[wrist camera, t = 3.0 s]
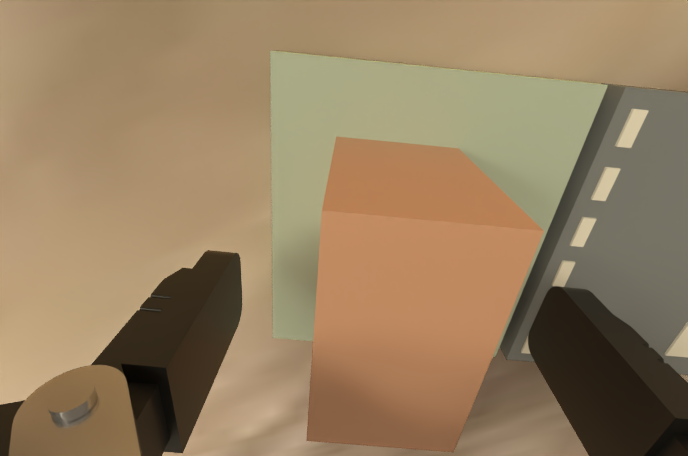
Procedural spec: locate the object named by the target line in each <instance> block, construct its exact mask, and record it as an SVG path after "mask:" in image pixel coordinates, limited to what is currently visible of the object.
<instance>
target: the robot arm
mask: <svg viewBox="0 0 688 456" xmlns="http://www.w3.org/2000/svg"><path fill="white" fill-rule="evenodd" d="M241 311H242V286H241V264H240V257H239V254H238V253H230V252H220V251H210V250H208V251H206V252H205V253H204V254H203V256H202V257H201V258H200V259H199V261H198V262H197V263H196V265H195V266H194V267H193V269H189V268H182V269H180V270H178V271H177V272H175V273H173V274H172V275H170V276H169V277H167V278H165V279H164V280H163V281H162V282H161V283H160V284H159V286H158V287H157V288H156V289H155V290H154V291H153V293H152V294H151V297H148V299H147V300H146V301H145V302H144V303H143V304H142V306H141V307H140V310H139V311H137V312H136V313H135V314H134V315H133V316H132V317H131V319H130V320H129V321H128V322H127V323H126V325H125V326H124V327H123V328H122V329H121V330H120V332H119V333H118V334H117V335H116V336H115V337H114V339H113V340H112V341H111V342H110V343H109V345H108V346H107V347H106V348H105V349H104V350H103V352H102V353H101V354H100V355H99V356H98V358H97V359H96V360H95V361H94V362H93V363H92V364H91V365H89V366H84V367H80V368H76V369H73V370H70V371H67V372H65V373H63V374H61V375H58V376H56V377H54V378H53V379H51V380H49V381H48V382H46V383H45V384H43V385H42V386H40V387H39V388H38V389H36V390H35V391H34V392H33V393H32V394H31V395H30V396H29V397H28V398H27V399H26V400H24V401H19V402H14V403H8V404H2V405H0V456H162V454H163V452H175V453H183V451H184V449H185V447H186V444H187V442H188V440H189V437H190V435H191V433H192V431H193V428H194V426H195V424H196V421H197V419H198V417H199V414H200V412H201V410H202V407H203V405H204V403H205V401H206V398H207V396H208V394H209V391H210V389H211V387H212V384H213V382H214V380H215V377H216V375H217V373H218V370H219V368H220V366H221V364H222V361H223V359H224V357H225V354H226V352H227V350H228V347H229V345H230V343H231V340H232V338H233V336H234V334H235V331H236V329H237V327H238V324H239V321H240V316H241ZM528 346H529V351H530V354H531V356H532V358H533V359H534V361H535V363H536V365H537V366H538V368H539V370H540V371H541V373H542V375H543V377H544V378H545V380H546V382H547V384H548V385H549V387H550V389H551V391H552V392H553V394H554V396H555V397H556V399H557V401H558V403H559V404H560V406H561V408H562V410H563V411H564V413H565V415H566V417H567V418H568V420H569V422H570V423H571V425H572V427H573V429H574V430H575V432H576V434H577V436H578V437H579V439H580V441H581V443H582V444H583V446H584V448H585V449H586V451H587V453H588V455H589V456H688V383H687V382H686V381H685V380H684V379H683V378H682V377H681V376H680V375H679V374H678V373H677V372H676V371H675V370H674V369H673V368H672V367H671V366H670V365H669V364H668V363H664V359H663V358H662V357H661V356H660V355H659V354H658V353H657V352H656V351H655V350H654V349H653V348H649V344H648V343H647V342H646V341H645V340H644V339H643V338H642V337H641V336H640V335H639V334H638V333H637V332H636V331H635V330H634V329H633V328H632V327H631V326H630V325H628V324H627V323H625V322H624V321H622V320H621V319H619V318H618V317H616V316H615V315H613V314H612V313H611V312H610V311H609V310H608V309H607V308H606V307H605V305H604V304H603V303H602V302H601V301H600V300H599V299H598V298H597V297H596V296H595V295H594V294H593V293H592V292H590V291H589V290H587V289H580V288H570V287H560V286H554V287H552V288H550V289H549V290H548V292H547V293H546V296H545V298H544V300H543V302H542V304H541V306H540V309H539V311H538V313H537V315H536V317H535V320H534V322H533V324H532V326H531V328H530V331H529V335H528Z"/></svg>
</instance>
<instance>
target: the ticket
mask: <svg viewBox="0 0 688 456" xmlns="http://www.w3.org/2000/svg"><path fill="white" fill-rule="evenodd" d="M601 84H603V83H601ZM605 85H608V87H607V89H606V92H605V94H604V96H603V99H602V101H601V104H600V106H599V108H598V111H597V113H596V116H595V118H594V120H593V123H592V125H591V128H590V130H589V132H588V135H587V137H586V140H585V142H584V145H583V147H582V149H581V152H580V154H579V157H578V159H577V161H576V164H575V166H574V169H573V171H572V173H571V176H570V178H569V181H568V183H567V186H566V188H565V190H564V193H563V195H562V198H561V200H560V202H559V205H558V207H557V210H556V212H555V214H554V217H553V219H552V222H551V224H550V227H549V229H548V231H547V234H546V236H545V239H544V241H543V243H542V246H541V248H540V251H539V253H538V255H537V258H536V260H535V263H534V265H533V267H532V270H531V272H530V275H529V277H528V280H527V282H526V284H525V287H524V289H523V292H522V294H521V296H520V299H519V301H518V304H517V306H516V308H515V311H514V313H513V316H512V318H511V321H510V323H509V325H508V328H507V330H506V333H505V335H504V337H503V340H502V342H501V345H500V348H501V350H502V352H503V354H504V356H505V358H506V360H516V361H528V362H535V361H534V359H533V358H532V356H531V354H530V351H529V346H528V335H529V331H530V328H531V326H532V324H533V322H534V320H535V317H536V315H537V313H538V311H539V309H540V306H541V304H542V302H543V300H544V298H545V296H546V293H547V292H548V290H549V289H550V288H552V287H554V286H560V287H570V288H580V289H587V290H589V291H590V292H592V293H593V294H594V295H595V296H596V297H597V298H598V299H599V300H600V301H601V302H602V303H603V304H604V305H605V307H606V308H607V309H608V310H609V311H610V312H611V313H612V314H613V315H615V316H616V317H618V318H619V319H621V320H622V321H624V322H625V323H627V324H628V325H630V326H631V327H632V328H633V329H634V330H635V331H636V332H637V333H638V334H639V335H640V336H641V337H642V338H643V339H644V340H645V341H646V342H647V343H648V344H649V348H653V349H654V350H655V351H656V352H657V353H658V354H659V355H660V356H661V357H662V358H663V359H664V363H668V364H669V365H670V366H671V367H672V368H673V369H674V370H675V371H676V372H677V373H678V374H682V375H688V92H682V91H672V90H662V89H652V88H642V87H633V86H623V85H613V84H605Z"/></svg>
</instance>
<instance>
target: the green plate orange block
mask: <svg viewBox="0 0 688 456" xmlns="http://www.w3.org/2000/svg"><path fill="white" fill-rule="evenodd" d="M270 78H271V196H272V314H273V338H279V339H291V340H303V341H313V351H312V366H311V381H310V397H309V412H308V427H307V441H317V442H329V443H342V444H355V445H367V446H380V447H393V448H406V449H418V450H431V451H444V452H454V450H455V447H456V445H457V442H458V440H459V438H460V435H461V433H462V430H463V428H464V425H465V423H466V420H467V418H468V416H469V413H470V411H471V408H472V406H473V403H474V401H475V398H476V396H477V394H478V391H479V389H480V386H481V384H482V381H483V379H484V376H485V374H486V372H487V369H488V367H489V364H490V362H491V359H492V357H496V354H497V352H498V349H499V347H500V345H501V342H502V340H503V337H504V335H505V333H506V330H507V328H508V325H509V323H510V321H511V318H512V316H513V313H514V311H515V308H516V306H517V304H518V301H519V299H520V296H521V294H522V292H523V289H524V287H525V284H526V282H527V280H528V277H529V275H530V272H531V270H532V267H533V265H534V263H535V260H536V258H537V255H538V253H539V251H540V248H541V246H542V243H543V241H544V239H545V236H546V234H547V231H548V229H549V227H550V224H551V222H552V219H553V217H554V214H555V212H556V210H557V207H558V205H559V202H560V200H561V198H562V195H563V193H564V190H565V188H566V186H567V183H568V181H569V178H570V176H571V173H572V171H573V169H574V166H575V164H576V161H577V159H578V157H579V154H580V152H581V149H582V147H583V145H584V142H585V140H586V137H587V135H588V132H589V130H590V128H591V125H592V123H593V120H594V118H595V116H596V113H597V111H598V108H599V106H600V104H601V101H602V99H603V96H604V94H605V92H606V89H607V87H608V85H605V84H598V83H591V82H582V81H572V80H562V79H553V78H543V77H533V76H523V75H513V74H503V73H493V72H483V71H474V70H464V69H454V68H444V67H434V66H424V65H414V64H404V63H394V62H385V61H375V60H365V59H355V58H345V57H335V56H325V55H315V54H306V53H296V52H286V51H270Z"/></svg>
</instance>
